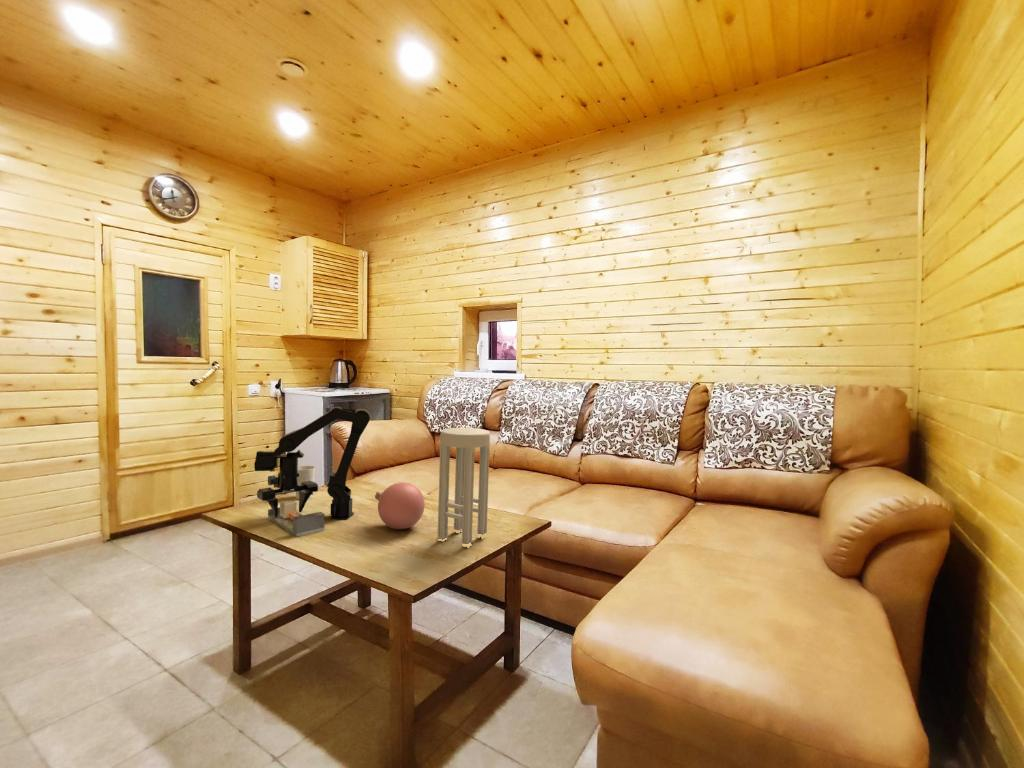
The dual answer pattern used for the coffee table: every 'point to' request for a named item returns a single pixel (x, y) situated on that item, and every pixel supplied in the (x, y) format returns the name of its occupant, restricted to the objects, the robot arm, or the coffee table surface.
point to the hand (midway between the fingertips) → (288, 514)
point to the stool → (463, 481)
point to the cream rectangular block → (288, 509)
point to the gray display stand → (299, 522)
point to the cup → (305, 476)
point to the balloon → (400, 505)
